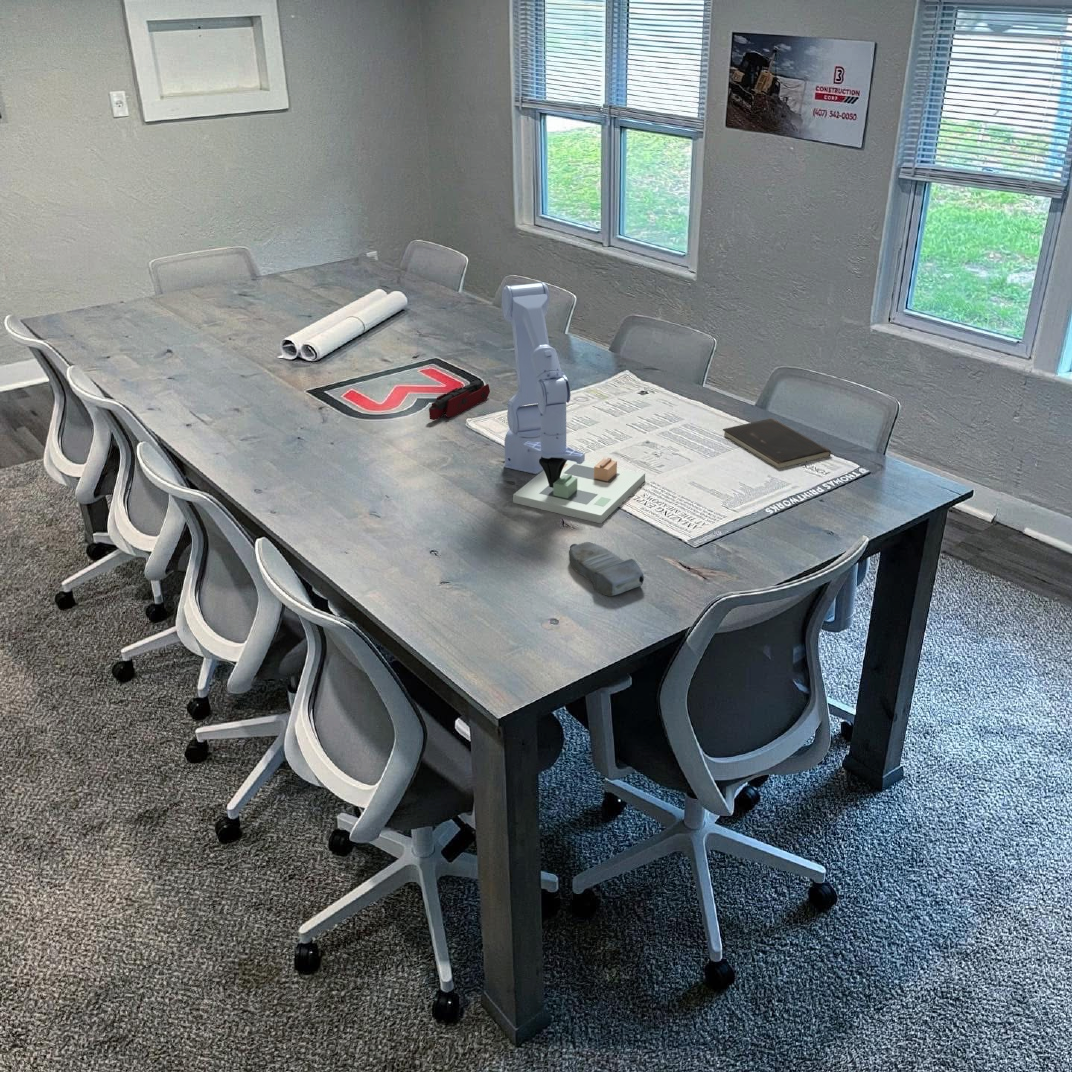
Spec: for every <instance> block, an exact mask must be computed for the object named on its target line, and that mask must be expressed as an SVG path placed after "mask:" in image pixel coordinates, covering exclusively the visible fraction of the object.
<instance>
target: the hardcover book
mask: <svg viewBox="0 0 1072 1072" xmlns="http://www.w3.org/2000/svg"><path fill="white" fill-rule="evenodd" d="M722 431H723V432H724V434H723V436H725V437H726V438H728V439H729V440H731V441H733V442H734V443H736V444H737V445H740V446H741V447H742V448H744V449H746V450H747V449H748V450H747V451H749V452H751V453H752V454H754V455H755V456H757V457H759V458H760V459H762V460H764V461H766V462H767V463H769V464H770V465H772V466H774V467H775V468H777V469H782V468H786V467H789V466H790V467H791V466H793V465H794V464H795V465H798V464H802V463H806V461H807V462H809V461H814V460H818V459H822V458H826V457H831V454H832V451H831V450H830V449H828V448H826V447H825V446H823V445H822V444H819V443H818V442H815V441H814V440H812V439H811V438H809V437H806V436H805V435H803V434H801V433H799V432H797V431H796V430H794V429H792V428H791V427H789V426H787V425H785V424H783V423H781V422H780V421H777V420H776V419H774V418H773V417H771V418H766V419H763V420H761V419H760V420H757V421H753V422H748V423H744V424H739V425H735V426H731V427H726V428H723V429H722ZM795 465H794V466H795Z"/></svg>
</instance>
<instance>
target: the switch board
mask: <svg viewBox="0 0 1072 1072" xmlns="http://www.w3.org/2000/svg"><path fill="white" fill-rule="evenodd" d="M598 463H599V462H595V461H590V460H587V459H585V461H584V462H583V463H581V464H577V462H574V461H569V460H567V462H566V463H565V465H564V467H563V470H562V472H561V475H560V477H562V476H563V475H568V474H571V475H572V477H576V478H577V490H576V491H575V492H574V493H573V494H572V495H571V496H570V497H569V498H563V497H558V496H554V495H553V488H552V487H549V483H548V480H547V477H546V474H545V472H544V470H542V471H541V472H540V473H538V474H536V476H535V477H533V478H532V479H530V480H529V481H528V482H527V483H525V484H524V485H523V486H522V487H521V488H520V489H518V490H516V492H514V493H513V494H512V502H513V504H517V505H518V504H519V505H523V506H526V507H531V508H535V509H539V510H543V511H547V512H551V513H556V514H560V515H564V516H569V517H572V518H577V519H581V520H584V521H589V522H593V523H598V524H602V523H603V522H604V521H605V520H606V519H607V518H608V517H609V516H610V515H611V514H612V513H614V511H615V510H617V508H618V507H619V506H620V505H622V502H623V503H624V502H625V501H626V500H627V499H628V498H629V497H630V496H631V495H632V494H633V493H634V492H635V491H636V490H637V489H638V488H639V487H640V486H641V485H642V484H643V483H644V482H646V472H643V471H642V472H641V471H637V470H633V469H628V468H625V467H620V466H617V473H616V474H615V475H614V476H613V477H612V478H611V479H610V480H609V481H603V480H599V479H594V466H595V465H597V464H598ZM624 500H625V501H624Z"/></svg>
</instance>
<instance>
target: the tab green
mask: <svg viewBox="0 0 1072 1072" xmlns="http://www.w3.org/2000/svg"><path fill="white" fill-rule="evenodd" d="M576 490H577V478H576V477H572V475H571V474H568V475H563V476H562V477H560V478H559V479H558V480H557V481H556V482H554V483H553V495H554V496H558V497H563V498H569V497H570V496H571V495H572V494H573V493H574V492H575V491H576Z"/></svg>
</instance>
